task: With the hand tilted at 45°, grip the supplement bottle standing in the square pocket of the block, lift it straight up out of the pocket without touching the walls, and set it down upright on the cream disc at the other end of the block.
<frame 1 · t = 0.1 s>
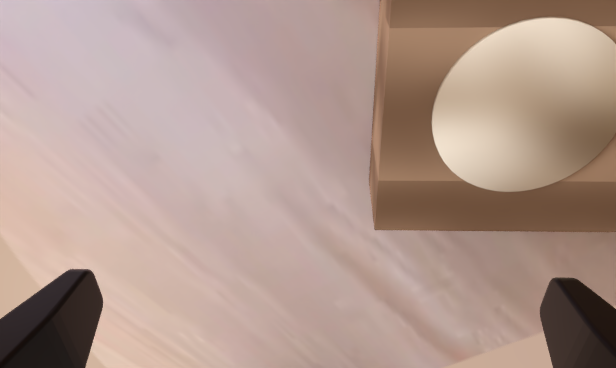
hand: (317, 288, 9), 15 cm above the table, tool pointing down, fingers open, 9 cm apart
pocket block: (597, 72, 22), on the table
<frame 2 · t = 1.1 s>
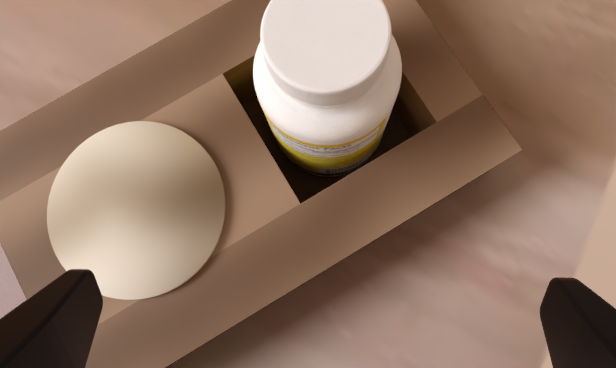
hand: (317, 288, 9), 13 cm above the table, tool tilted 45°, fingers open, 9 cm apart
supplement bottle: (327, 127, 24), resting in pocket block
pocket block: (249, 171, 24), on the table
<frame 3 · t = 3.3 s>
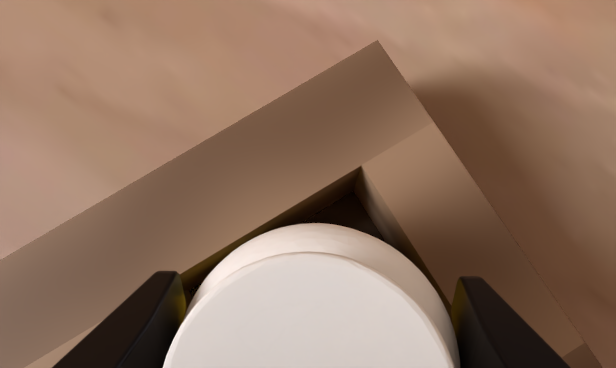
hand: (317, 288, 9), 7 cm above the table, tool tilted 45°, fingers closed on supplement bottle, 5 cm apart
supplement bottle: (321, 324, 16), resting in pocket block, touching gripper
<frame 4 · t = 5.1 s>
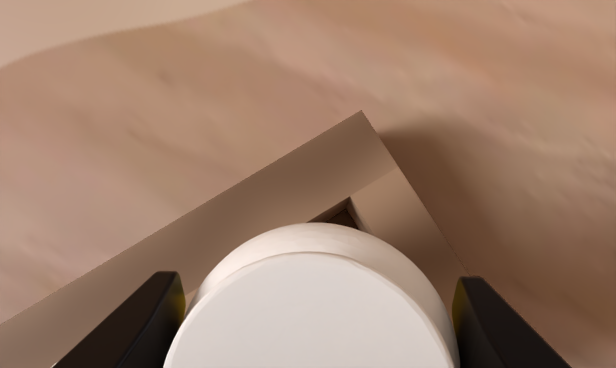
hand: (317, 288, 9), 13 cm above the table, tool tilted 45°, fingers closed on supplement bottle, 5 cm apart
supplement bottle: (321, 323, 16), point 6 cm above the table, touching gripper
pocket block: (238, 357, 22), on the table
when the fingers open (12 cm above the table, at t = 7.2 s): supplement bottle stays where it is, resting on pocket block.
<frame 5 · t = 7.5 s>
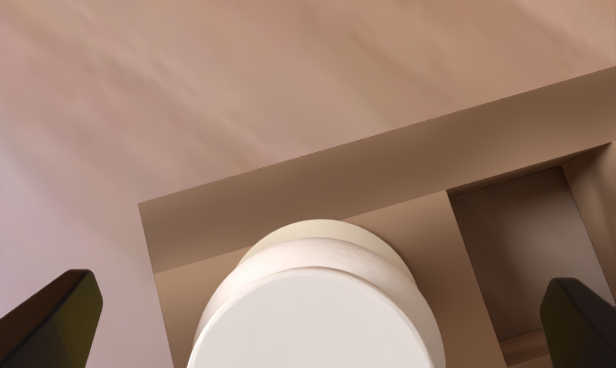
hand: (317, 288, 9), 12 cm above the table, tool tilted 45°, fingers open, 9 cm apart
supplement bottle: (321, 325, 17), point 4 cm above the table, touching pocket block
pocket block: (420, 282, 21), on the table
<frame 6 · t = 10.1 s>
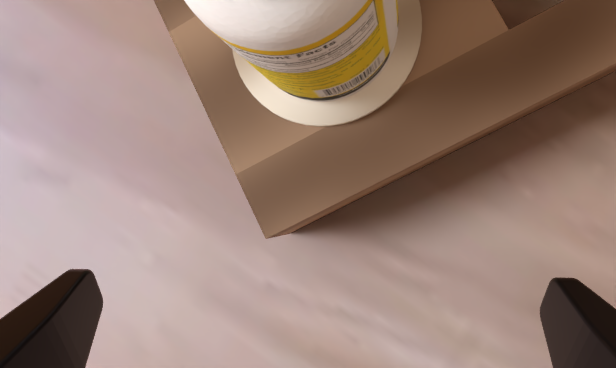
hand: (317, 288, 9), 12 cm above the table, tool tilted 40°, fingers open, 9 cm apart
supplement bottle: (325, 35, 18), point 4 cm above the table, touching pocket block
pocket block: (426, 15, 21), on the table
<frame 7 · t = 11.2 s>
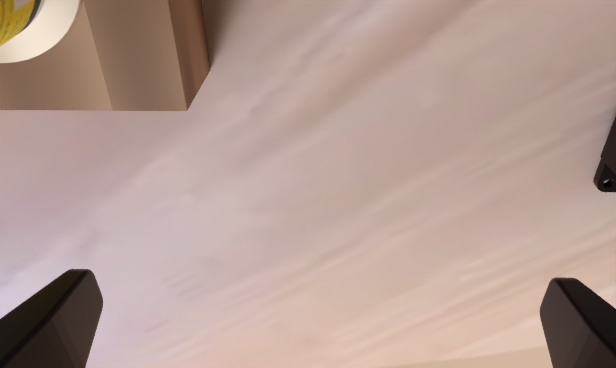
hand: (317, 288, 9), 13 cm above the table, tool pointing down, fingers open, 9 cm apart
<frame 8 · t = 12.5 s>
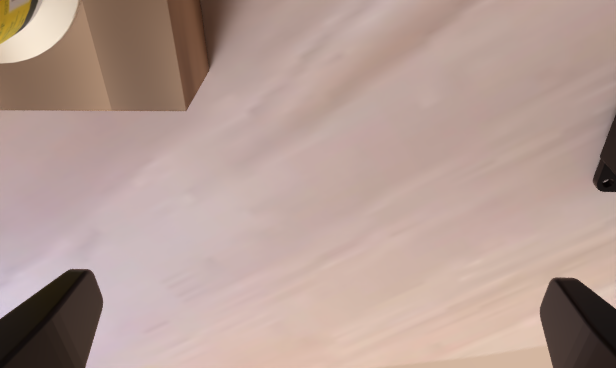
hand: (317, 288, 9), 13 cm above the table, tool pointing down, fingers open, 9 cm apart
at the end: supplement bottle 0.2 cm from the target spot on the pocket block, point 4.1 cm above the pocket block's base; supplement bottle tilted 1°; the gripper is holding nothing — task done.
